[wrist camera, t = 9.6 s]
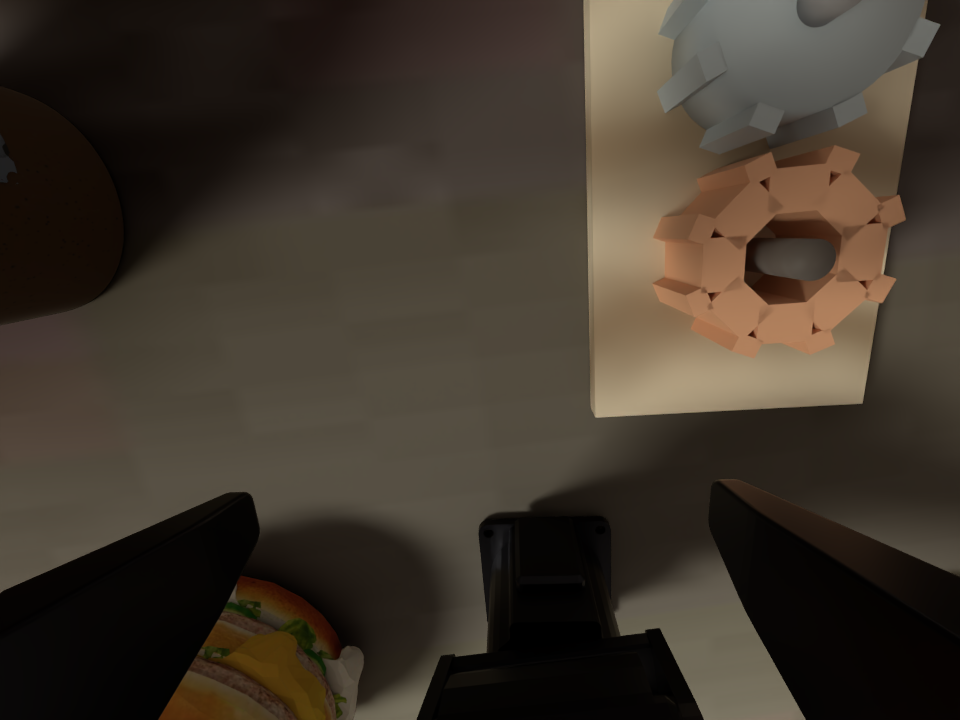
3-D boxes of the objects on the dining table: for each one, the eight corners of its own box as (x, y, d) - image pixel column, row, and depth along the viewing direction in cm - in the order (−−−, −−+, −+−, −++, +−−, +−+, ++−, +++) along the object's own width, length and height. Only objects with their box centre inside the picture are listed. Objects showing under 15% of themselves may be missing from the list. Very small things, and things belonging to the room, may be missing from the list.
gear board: (841, 393, 20) (970, 455, 14) (590, 407, 21) (620, 470, 15) (927, -190, 14) (1190, -455, 9) (581, -136, 15) (621, -345, 10)
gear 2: (813, 327, 18) (884, 349, 14) (651, 339, 18) (683, 363, 15) (833, 156, 16) (920, 136, 13) (653, 174, 17) (690, 160, 13)
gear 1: (836, 142, 16) (958, 109, 12) (655, 160, 16) (707, 135, 12) (863, -74, 14) (1018, -208, 10) (659, -46, 15) (722, -162, 10)
